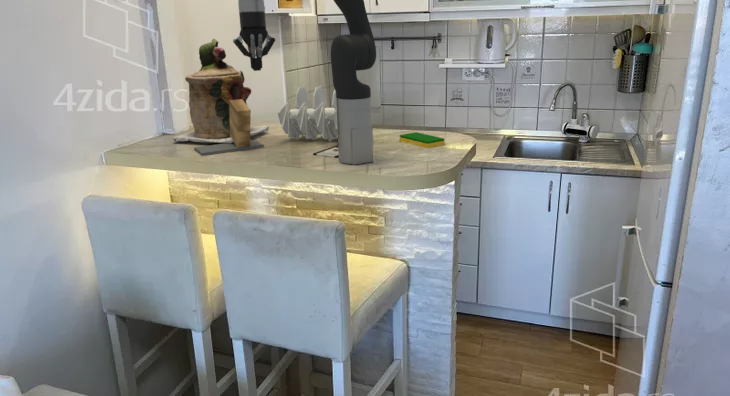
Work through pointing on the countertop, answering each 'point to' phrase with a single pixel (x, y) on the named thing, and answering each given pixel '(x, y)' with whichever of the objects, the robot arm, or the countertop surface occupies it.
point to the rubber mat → (226, 148)
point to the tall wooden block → (239, 122)
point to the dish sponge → (422, 140)
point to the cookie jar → (214, 97)
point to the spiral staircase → (310, 116)
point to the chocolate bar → (328, 152)
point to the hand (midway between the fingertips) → (256, 70)
